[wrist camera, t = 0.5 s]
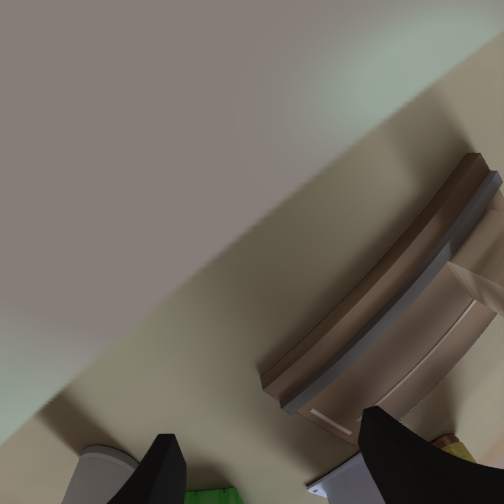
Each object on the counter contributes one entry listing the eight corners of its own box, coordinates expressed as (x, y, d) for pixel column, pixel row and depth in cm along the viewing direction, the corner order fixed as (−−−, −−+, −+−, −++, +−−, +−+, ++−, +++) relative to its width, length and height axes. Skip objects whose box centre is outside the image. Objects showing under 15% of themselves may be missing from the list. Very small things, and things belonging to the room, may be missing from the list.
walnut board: (519, 259, 20) (536, 266, 18) (356, 437, 23) (364, 455, 21) (467, 153, 18) (487, 152, 16) (260, 377, 20) (264, 398, 18)
